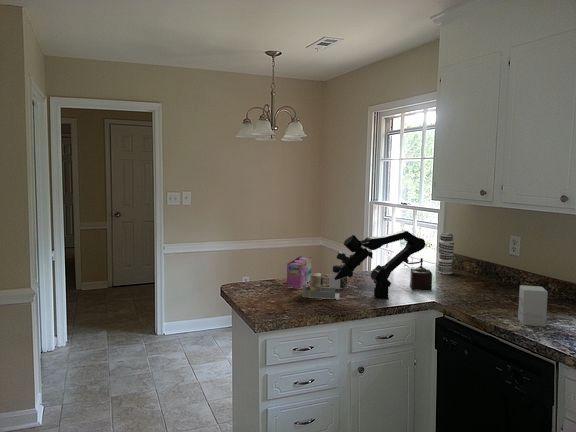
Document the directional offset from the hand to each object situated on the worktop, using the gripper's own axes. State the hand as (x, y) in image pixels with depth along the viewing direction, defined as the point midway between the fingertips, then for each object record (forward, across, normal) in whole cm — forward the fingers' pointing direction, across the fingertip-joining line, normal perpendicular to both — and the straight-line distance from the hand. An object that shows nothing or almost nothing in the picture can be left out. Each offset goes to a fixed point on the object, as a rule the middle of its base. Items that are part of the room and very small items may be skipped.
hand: (335, 279), depth 232 cm
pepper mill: (-23, -27, +37) cm, 52 cm away
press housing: (+11, 0, +2) cm, 11 cm away
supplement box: (-52, +26, +66) cm, 88 cm away
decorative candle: (-40, -69, +54) cm, 97 cm away
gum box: (+21, -23, -8) cm, 32 cm away
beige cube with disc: (+12, 0, -1) cm, 12 cm away
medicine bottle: (+6, -20, +7) cm, 22 cm away
